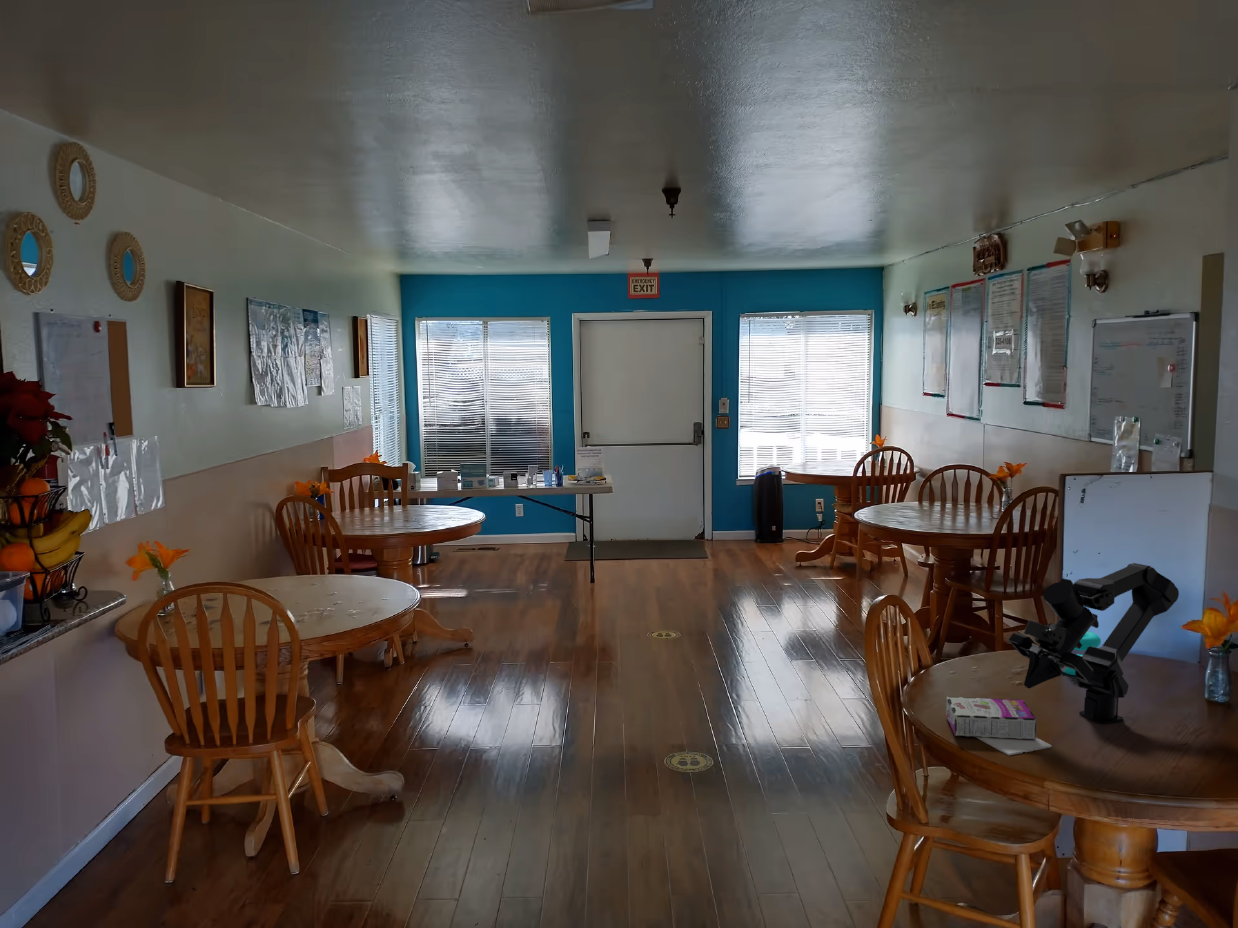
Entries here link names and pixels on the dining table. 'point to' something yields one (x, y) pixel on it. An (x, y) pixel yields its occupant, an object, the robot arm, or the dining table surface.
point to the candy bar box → (990, 718)
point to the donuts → (1085, 646)
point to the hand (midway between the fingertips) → (1026, 686)
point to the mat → (1015, 744)
